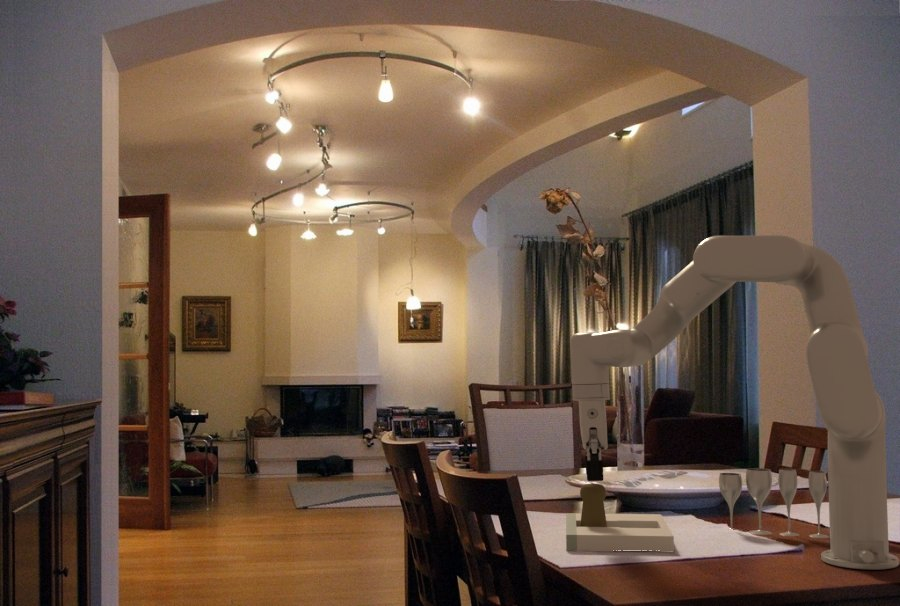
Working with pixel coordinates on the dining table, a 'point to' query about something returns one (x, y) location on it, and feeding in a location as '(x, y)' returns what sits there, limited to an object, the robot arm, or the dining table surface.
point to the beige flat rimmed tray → (620, 533)
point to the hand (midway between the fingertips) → (594, 477)
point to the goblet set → (761, 486)
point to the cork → (593, 506)
